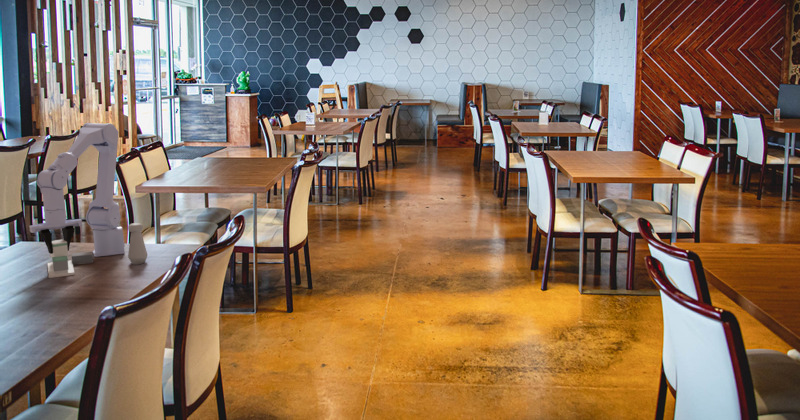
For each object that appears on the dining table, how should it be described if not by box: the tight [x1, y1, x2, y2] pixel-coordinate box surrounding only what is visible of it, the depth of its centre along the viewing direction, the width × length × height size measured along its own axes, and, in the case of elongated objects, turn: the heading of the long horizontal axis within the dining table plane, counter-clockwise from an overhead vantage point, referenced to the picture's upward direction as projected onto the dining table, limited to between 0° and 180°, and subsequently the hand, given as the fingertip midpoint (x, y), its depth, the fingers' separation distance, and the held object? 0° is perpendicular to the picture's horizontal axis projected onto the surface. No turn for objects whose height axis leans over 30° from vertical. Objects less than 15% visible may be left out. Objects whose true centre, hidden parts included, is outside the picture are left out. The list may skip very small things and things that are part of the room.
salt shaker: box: [127, 222, 148, 265], centre depth 217 cm, size 6×6×13 cm
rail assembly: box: [47, 256, 75, 279], centre depth 210 cm, size 7×15×5 cm, turn 28°
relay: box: [71, 251, 94, 266], centre depth 219 cm, size 6×4×3 cm, turn 112°
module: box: [49, 238, 69, 259], centre depth 209 cm, size 4×4×5 cm
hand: (58, 251), depth 209 cm, fingers closed on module, 4 cm apart
